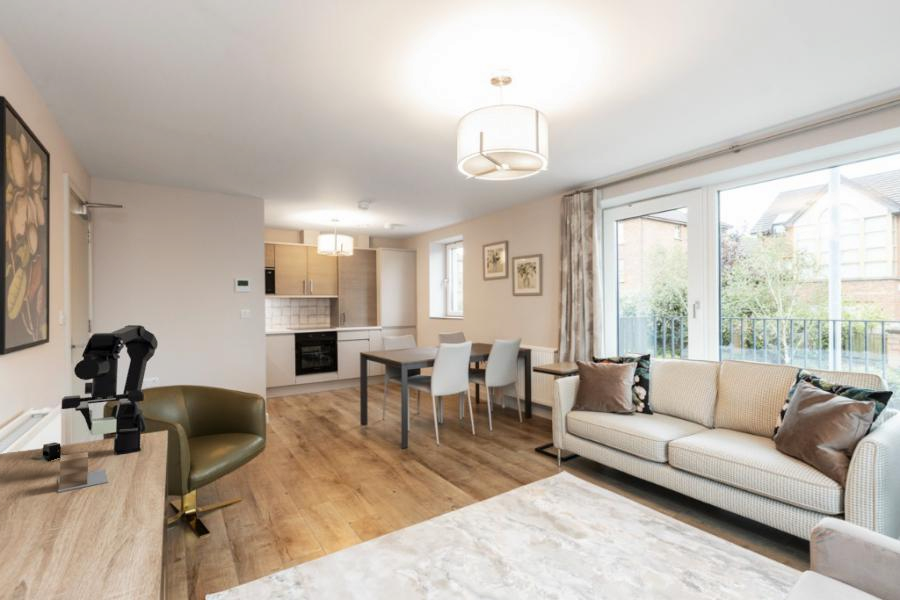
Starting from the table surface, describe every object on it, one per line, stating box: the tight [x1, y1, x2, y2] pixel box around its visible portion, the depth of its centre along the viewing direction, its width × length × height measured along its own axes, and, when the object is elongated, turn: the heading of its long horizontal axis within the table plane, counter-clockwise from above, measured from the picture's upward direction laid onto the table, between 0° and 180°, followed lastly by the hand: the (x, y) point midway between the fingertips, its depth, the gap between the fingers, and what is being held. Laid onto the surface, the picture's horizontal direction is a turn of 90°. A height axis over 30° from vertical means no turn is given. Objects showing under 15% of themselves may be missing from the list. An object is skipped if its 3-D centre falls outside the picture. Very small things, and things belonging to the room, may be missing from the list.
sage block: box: [89, 416, 117, 436], centre depth 126 cm, size 6×6×4 cm
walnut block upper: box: [59, 451, 89, 477], centre depth 114 cm, size 6×6×4 cm
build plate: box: [33, 441, 66, 463], centre depth 136 cm, size 12×7×5 cm, turn 65°
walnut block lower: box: [59, 470, 89, 490], centre depth 113 cm, size 6×6×4 cm
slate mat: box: [57, 469, 109, 494], centre depth 116 cm, size 10×12×1 cm
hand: (103, 428), depth 126 cm, fingers closed on sage block, 6 cm apart
